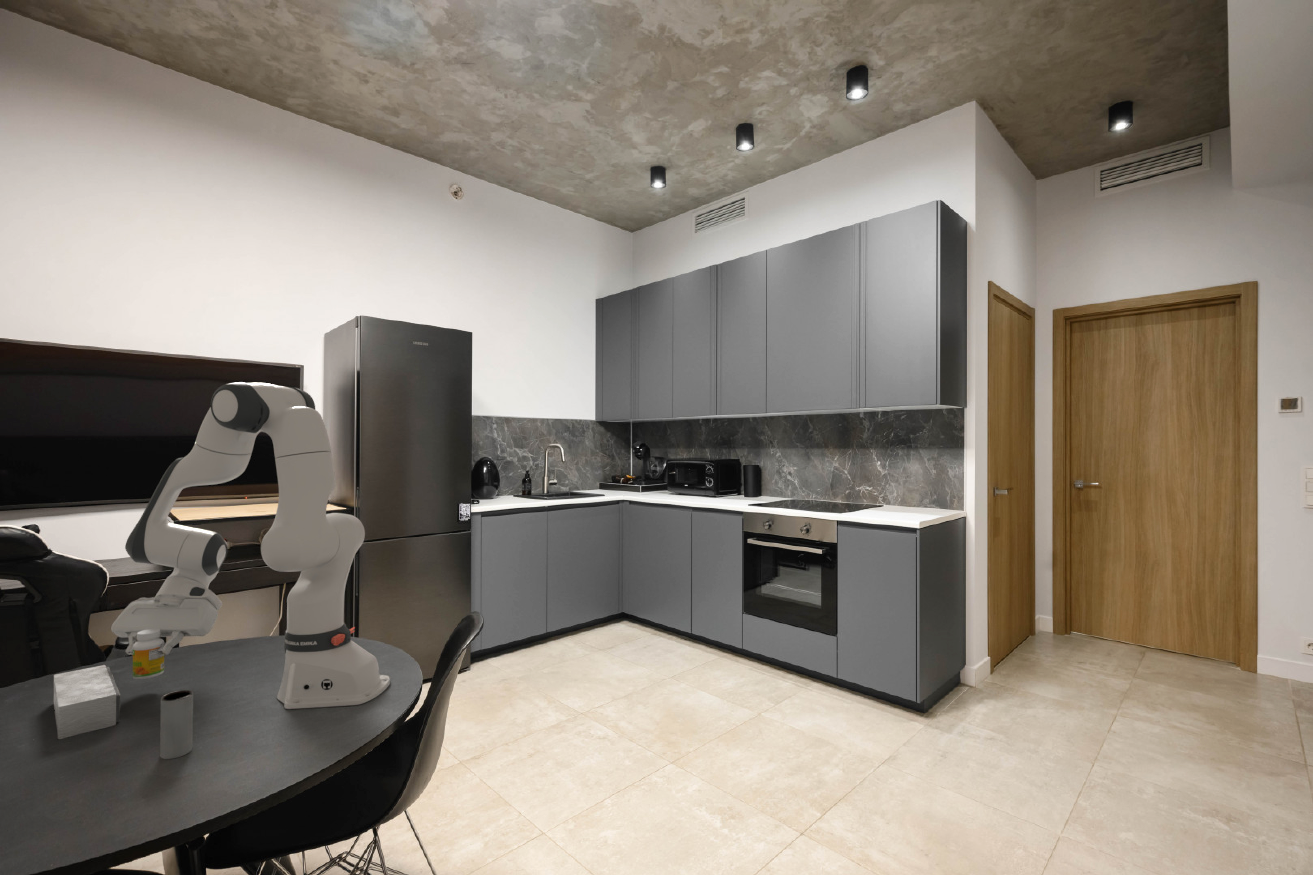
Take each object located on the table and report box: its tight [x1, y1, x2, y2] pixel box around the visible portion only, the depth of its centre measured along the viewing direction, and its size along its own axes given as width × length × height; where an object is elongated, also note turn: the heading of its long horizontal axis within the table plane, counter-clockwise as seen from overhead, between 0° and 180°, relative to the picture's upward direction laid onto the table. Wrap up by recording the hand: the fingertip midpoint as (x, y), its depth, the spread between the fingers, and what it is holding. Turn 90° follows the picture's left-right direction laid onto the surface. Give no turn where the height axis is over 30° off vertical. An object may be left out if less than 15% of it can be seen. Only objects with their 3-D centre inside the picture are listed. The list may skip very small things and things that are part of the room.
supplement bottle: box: [132, 629, 165, 680], centre depth 134 cm, size 5×5×10 cm
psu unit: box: [53, 664, 121, 740], centre depth 123 cm, size 22×9×6 cm, turn 47°
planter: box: [159, 689, 194, 760], centre depth 108 cm, size 4×4×10 cm
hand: (146, 653), depth 133 cm, fingers closed on supplement bottle, 5 cm apart
